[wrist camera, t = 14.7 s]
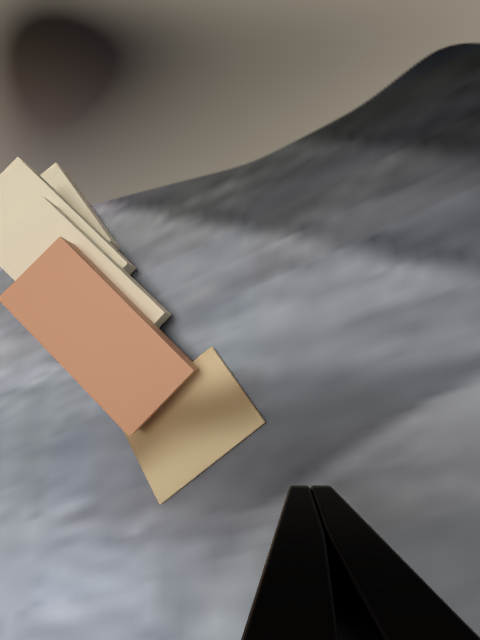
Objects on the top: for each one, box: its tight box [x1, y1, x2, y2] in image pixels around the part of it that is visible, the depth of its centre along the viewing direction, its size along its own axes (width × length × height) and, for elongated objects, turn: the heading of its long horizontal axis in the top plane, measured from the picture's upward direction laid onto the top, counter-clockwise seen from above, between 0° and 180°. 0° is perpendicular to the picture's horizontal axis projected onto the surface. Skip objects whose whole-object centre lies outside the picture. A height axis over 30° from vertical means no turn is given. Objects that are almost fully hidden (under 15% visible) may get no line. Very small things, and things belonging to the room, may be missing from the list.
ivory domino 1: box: [0, 157, 136, 275], centre depth 25 cm, size 2×6×12 cm
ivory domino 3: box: [0, 196, 171, 328], centre depth 23 cm, size 2×6×12 cm
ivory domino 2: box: [40, 163, 120, 250], centre depth 29 cm, size 2×6×12 cm
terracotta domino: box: [0, 237, 199, 437], centre depth 21 cm, size 2×6×12 cm
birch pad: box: [123, 347, 266, 504], centre depth 21 cm, size 6×8×1 cm
